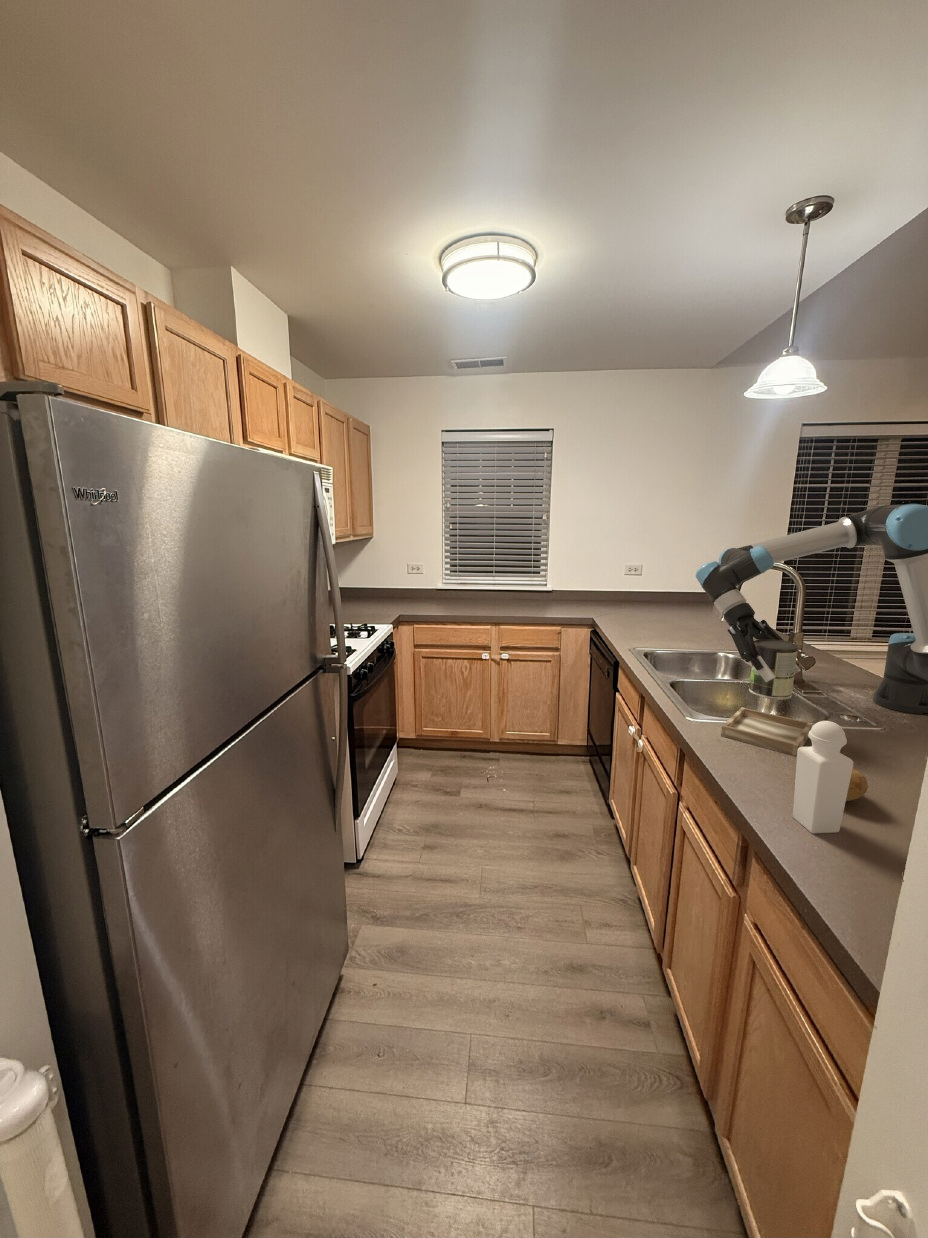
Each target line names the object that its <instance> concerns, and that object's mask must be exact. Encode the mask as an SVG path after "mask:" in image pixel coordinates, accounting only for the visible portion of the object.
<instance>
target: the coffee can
mask: <svg viewBox="0 0 928 1238" xmlns="http://www.w3.org/2000/svg"><path fill="white" fill-rule="evenodd" d="M754 644H755V648H756V652H757V657H758V656H761V657H762V659H763V660H764V661H765V663H766V664H767V666H768V667H769V669H770V670H771V671H772V673H773V674H774V676H775V678H773V679H771V680H770V681H768V682H765V680H764V679H763V678H762V676H761V675H760V673H759V672H758V670H756V668H755V667H754V665H753V664H752V663H751V669H750V678H749V687H748V691H749V692H750V693H751V694H752V695H753V696H757V697H760V698H764V699H767V700H769V699H770V700H777V701H779V700H789V699H791V698H793V697H792V696H793V690H794V689H793V688H794V680H795V675H796V674H795V666H796V665H797V659H798V650H799V647H800V646H799V645H798V644H797V643H795V642H792V641H787V640H785V639H783V640H777V639H755V640H754Z"/></svg>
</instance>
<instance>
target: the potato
mask: <svg viewBox="0 0 928 1238" xmlns="http://www.w3.org/2000/svg"><path fill="white" fill-rule="evenodd" d="M868 788H869V785H868V780H867V778H866V776H865V775H864V774H863V773H861V772H860V771H859V770H857V769H856V768H855V767H853V769H852V773H851V778H850V783H849V788H848V792H847V797H846V802H849V801H854V800H857V799H860V798H861V797H863V796H864V795H865V794H866V793H867V791H868Z"/></svg>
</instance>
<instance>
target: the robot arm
mask: <svg viewBox="0 0 928 1238" xmlns="http://www.w3.org/2000/svg"><path fill="white" fill-rule="evenodd" d="M862 546H879V547H881V549H882V551H883V554H884V558H885V560H886V561H888V562H890V563H893V564H894V568H895V571H896V574H897V575H896V576H897V578H898V582H899V586H900V588H901V589H900V590H901V592H902V593H901V594H902V596H903V600H904V603H905V607H906V611H907V614H908V618H909V620H910V621H909V622H910V624H911V627H912V632H899V633H898V632H896V633H893V634H891V635H890V637H889V640H888V644H887V653H886V659H885V664H884V672H883V677H882V679H881V681H880V683H879V684H878V686H877V687H876V689H875V691H874V692H873V696H872V701H873V703H875V704H877V705H879V706H881V707H883V708H887V709H888V710H889V709H890V710H893V711H898V712H902V713H909V714H915V713H916V715H917V714H919V715H924V714H923V713H928V505H925V504H919V503H907V504H885V505H883V504H882V505H880V506H875V507H872V508H868V509H866V510H863V511H860V512H857V513H856V512H855V513H853V514H849V515H847V516H843V517H839V520H838V521H837V522H832V523H828V524H825V525H822V526H818V527H813V528H810V529H806V530H802V531H798V532H794V533H791V534H786V535H783V536H780V537H774V538H771V539H767V540H764V541H759V542H755V543H753V544H752V543H751V544H749V545H745V546H740V547H737V548H736V547H731V548H726V549H724V550H723V551H722V552H721V553H720V554H719V557H718V561H716V560H715V561H714V560H713V561H711V562H707V563H705V564H703V565H702V566H700V567H699V568H698V570H697V571H696V573H695V578H696V579H697V582H698V583H699V584H700V586H701V588H702V589H703V591H704V592H705V593H706V595H707V596H708V597H709V599H710V600H711V602H712V603H713V604H714V606H715V607H716V609H717V611H719V613H720V614H721V615H723V619H724V620H725V622H726V623H727V624H728V626H729V627H728V628H727V632H728V634H729V635H730V636H731V637H732V640H733V642H734V644H735V647H736V649H737V652H738V654H739V656H740V658H741V659H742V660H744V661H745V663H751V665H752V664H753V665H754V667H755V668H756V670H758V672H759V673H760V675H761V676H762V678H763V679H764V680H765V682H768V681H770V680H771V679H773V678H775V676H774V674H773V673H772V671H771V670H770V669H769V667H768V666H767V664H766V663H765V661H764V660H763V659H762V657H761V656H758V657H757V652H756V648H755V644H754V641H755V640H759V639H777V640H784V639H783V638H782V637H781V636H780V635H779V634H778V633H777V632H776V631H775V630H774V629H773V628H772V627H771V626H770V625H769V624H768V622H767V620H765V619H762V620H760V621H758V620H757V619H756V618H755V614H756V612H755V610H754V609H753V607H752V606H751V605H750V603H749V602H747V599H746V598H745V597H744V595H743V594H742V592H741V591H740V590H739V589H738V587H737V586H741V585H742V584H744V583H746V582H748V581H750V580H752V579H754V578H756V577H758V576H760V575H762V574H765V572H768V571H769V570H770V569H772V568H773V567H774V565H775V564H777V563H782V562H786V561H790V560H794V559H798V558H802V557H806V556H810V555H814V554H818V553H821V552H827V551H830V550H834V549H838V548H842V547H843V548H844V547H846V548H848V549H853V548H856V547H862ZM754 639H755V640H754ZM799 672H801V669H800V667H799V666H798V665H797V664H796V666H795V674H794V675H796V674H798V673H799Z"/></svg>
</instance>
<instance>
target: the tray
mask: <svg viewBox="0 0 928 1238" xmlns="http://www.w3.org/2000/svg"><path fill="white" fill-rule="evenodd" d="M813 726H814V723H813V722H809V721H804V720H800V719H796V718H791V717H786V716H781V715H777V714H774V713H769V712H764V711H761V710H755V709H752V708H751V709H750V708H746V707H743V706H742V707H740V708H739V710H737V711H736V712H735V713H734V714H733V715H732V716H731V717H730V718H728V720H726V721H725V722H724V724H722V725H721V730H720V731H721V733H720V736H721V737H724V738H728V739H730V740H734V741H739V742H742V743H746V744H750V745H753V746H757V747H760V748H764V749H768V750H771V751H775V752H779V753H783V754H786V755H791V756H793V757H797V750H798V748H800V747H805V746H804V745H805V744H806V743H807V741H808V740H809V739H810V738H809V736H808V734H809V731H810V730H811V728H812V727H813Z"/></svg>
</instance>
